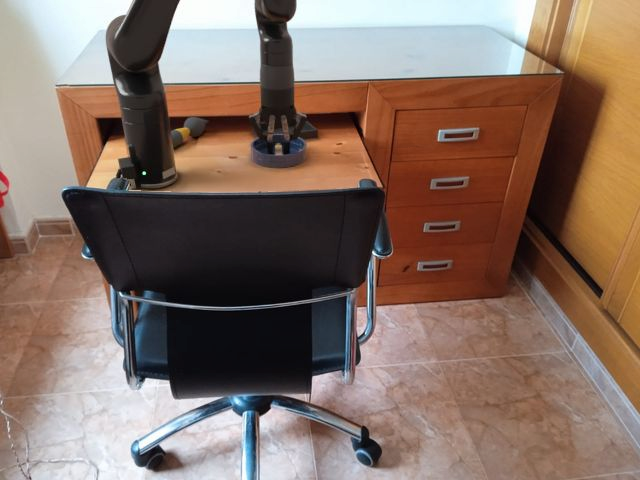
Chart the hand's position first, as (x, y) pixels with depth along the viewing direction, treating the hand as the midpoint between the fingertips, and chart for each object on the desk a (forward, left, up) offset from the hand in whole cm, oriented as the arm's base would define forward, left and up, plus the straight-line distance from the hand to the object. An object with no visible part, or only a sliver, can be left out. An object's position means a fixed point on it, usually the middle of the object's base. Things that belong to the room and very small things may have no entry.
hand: (278, 155), depth 128 cm
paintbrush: (-19, +18, -1) cm, 26 cm away
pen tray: (+6, +12, -1) cm, 14 cm away
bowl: (0, 0, -1) cm, 1 cm away
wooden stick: (0, 0, 0) cm, 0 cm away
